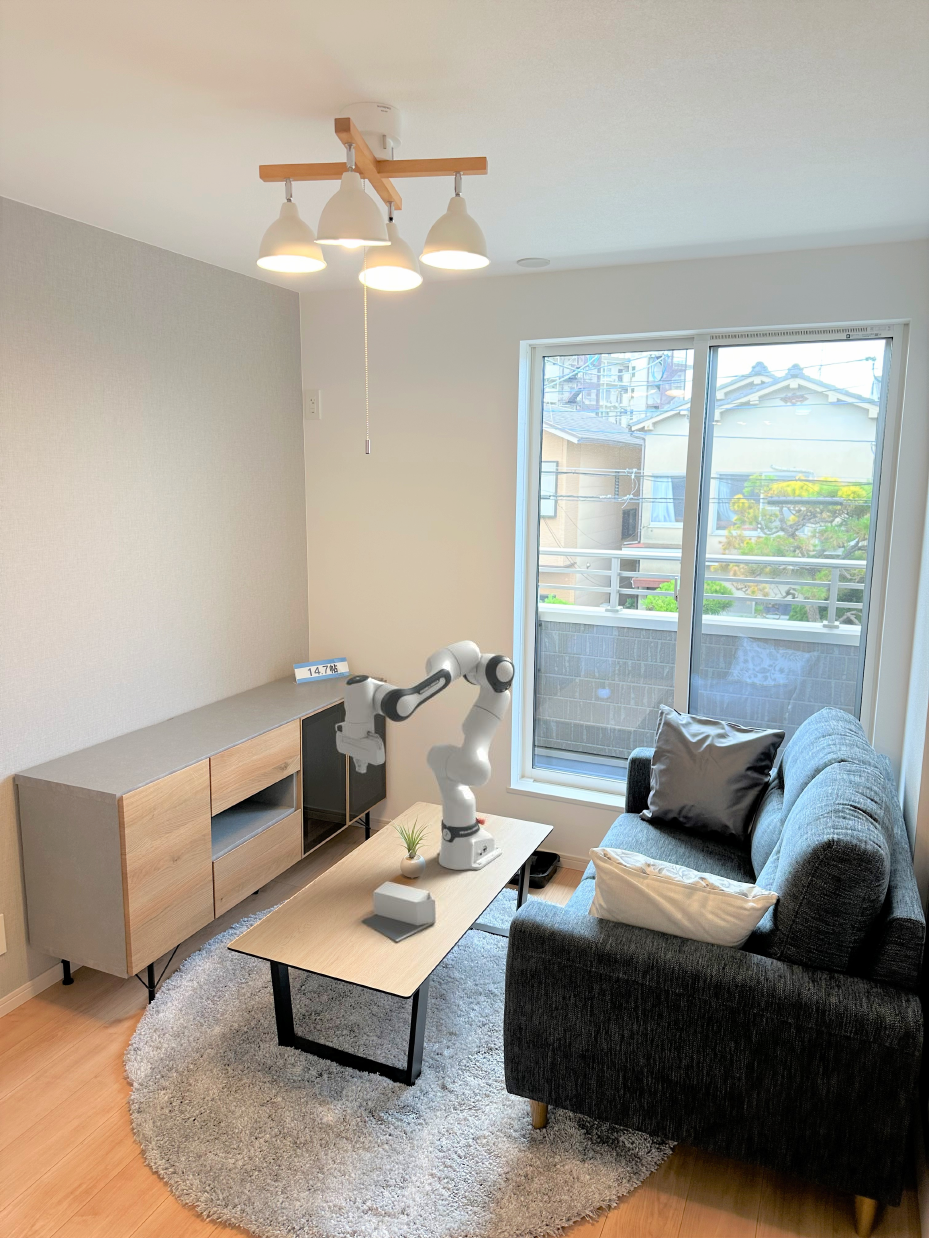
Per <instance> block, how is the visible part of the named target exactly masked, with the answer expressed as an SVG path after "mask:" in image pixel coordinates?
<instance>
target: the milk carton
mask: <svg viewBox="0 0 929 1238" xmlns="http://www.w3.org/2000/svg"><path fill="white" fill-rule="evenodd" d="M436 909H437V908H436V899H434V898H432V896H431V893H430V891H428V890H424V889H419V888H415V887H412V886H407V885H404V884H399V883H397V882H396V883H395V882H392V881H385V882H384V883H383V884H381V885H380V886H379V887H377V888H376V889H375V890H374V891H373V911H374V912H373V913H374V914H377V915H381V916H384V917H388V918H392V919H395V920H399V921H403V922H406V923H410V924H414V925H417V926H418V925H423V924H427V923H432V922H433V923H435V924H436V923H437V916H436V914H437V913H436V912H437V911H436ZM374 914H373V915H374Z"/></svg>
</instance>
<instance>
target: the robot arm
mask: <svg viewBox="0 0 929 1238" xmlns="http://www.w3.org/2000/svg"><path fill="white" fill-rule="evenodd" d="M515 669H516V668H515V665H514V662H513V661H512V660H511V659H510V658H509V657H507V656H505V655H503V654H502V655H501V654H495V653H481V651H480V648H479V647H478V646H477V645H476V643H475V642H473V641H471V640H466V639H465V640H461V641H458V642H455V643H452V644H450V645H447V646H445V647H443V648H441V649H439V650H436V651H435V652H433V653H432V654H431V655H430V656H429V657H427V660H426V661H425V672H426V673H425V674H426V677H424V678H423V679H422V680H420V681H418V682H417V683H415V684H414V685H412V686H410V687H398V686H395V685H393V684H391V683H389V682H385V681H379V680H376V679H373V678H371V677H370V676H369V675H365V674H360V675H355V676H352V677H350V678H349V679H348V680H347V681H346V682H345V686H344V691H343V693H344V694H343V696H344V697H343V698H344V699H343V703H344V704H343V705H344V706H343V707H344V709H345V716H344V721H343V722H339V723H336V724H335V731H336V734H335V742H336V749H337V751H338V753H341V754H344V755H347V756H348V757H349V756H350V757H352V758H353V759H352V760H353V762H354V765H355V771H356V772H358V773H361V774H365V773H367V767H368V765H369V764H371V765H374V766H378V765H382V764H384V763H385V761H386V753H385V745H384V741H383V740H382V738H381V737H380V735H379V734H377V733H375V715H377V714H380V715H382V716H384V717H386V719H389V720H390V721H392V722H394V723H401V722H404V721H406V720H408V719H409V718H410V717H412V715H413V714H414V713H415V712H416V710H417V709H419V708H420V707H421V706H422V705H423V704H425V703H427V702H428V701H429V700H431V699H432V698H434V697H435V696H436V695H438V694H440V693H441V692H442V691H444V690H445V689H446V688H447V687H449V685H450V684H451V683H453V682H454V681H456V680H457V679H459V678H463V679H464V680H465V681H466V683H467V682H468V684H470V685H474V686H479V692H478V693H479V694H478V696H477V698H476V700H475V701H474V703H473V705H472V706H471V708H470V709H469V712H468V713H467V715H466V717H465V719H464V721H463V722H462V723H461V732H462V733H463V736H464V738H463V743H462V746H461V747H460V746H457V745H454V744H451V743H436V744H434V745H433V746H432V747H431V748H430V749H429V750H428V752H427V755H426V764H427V767H428V768H429V769H430V771H431V772H432V774H433V776H434V778H435V780H436V783H437V786H438V790H439V794H440V798H441V808H442V819H441V820H440V822H441V823H440V824H441V826H440V827H441V842H440V849H439V857H438V864H439V865H441V867H444V868H446V869H449V870H455V871H456V870H458V871H461V870H463V871H464V870H482V868H484V867H486V866H487V865H488V864H489V863H491V862H492V861H494V860H495V859H496V858H498V857H500V856H501V855H502V854H503V851H502V849H501V848H500V847H499V846H498V845H496V843H495V839H494V837H493V835H492V834H491V833H489V832H488V831H486V830H484V828H482V827H480V825H481V826H485V824H486V819H484V818H481V817H479V818H477V817H476V815H477V814H476V813H477V812H476V811H477V809H476V803H477V802H476V797H475V794H474V793H473V792H472V790H471V789H470V787H471V788H480V787H482V786H483V787H484V786H485V785H486V784H487V783H488V781H489V780H490V777H491V775H492V765H491V763H490V760H489V752H490V746H491V743H492V740H493V739H494V736H495V735H496V733H497V731H498V729H499V727H500V725H501V723H502V721H503V720H504V717H505V715H506V713H507V711H508V709H509V705H510V703H511V700H512V699H511V693H510V691H509V690H510V688H511V687H512V684H513V683H512V682H513V680H514V678H515V673H516V671H515Z"/></svg>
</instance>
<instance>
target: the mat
mask: <svg viewBox="0 0 929 1238" xmlns="http://www.w3.org/2000/svg"><path fill="white" fill-rule="evenodd" d="M361 923H363V924H365V925H366V926H368V927H370V928H371V929H373V930H375V931H377V932H378V933H379V934H381V935H383V936H385V937H387V938H388V939H390V940H392V941H393V942H395V943H397V944H398V943H400V942H402V941H404V940H406V939H408V938H410V937H412V936H414V935H416V934H418V933H420V932H421V931H423V930H425V929H427V928H429V927H431V926H434V925H435V924H436V923H433V922H432V923H427V924H423V925H418V926H417V925H414V924H410V923H406V922H403V921H399V920H395V919H392V918H388V917H384V916H381V915H377V914H372V915H370V916H368V917H366V918H364V919H362V920H361Z"/></svg>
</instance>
